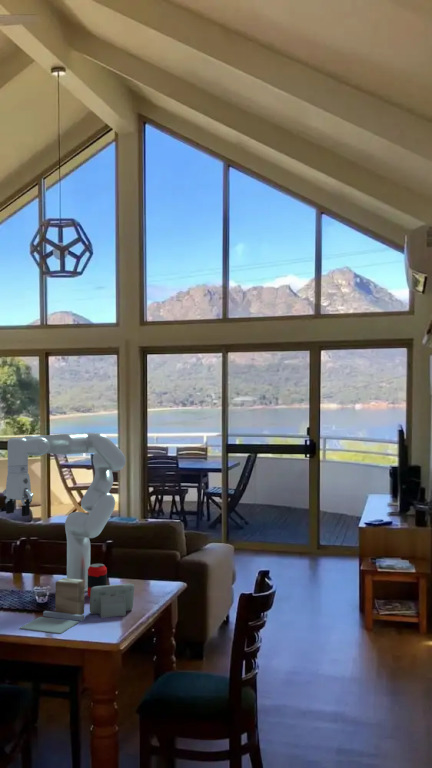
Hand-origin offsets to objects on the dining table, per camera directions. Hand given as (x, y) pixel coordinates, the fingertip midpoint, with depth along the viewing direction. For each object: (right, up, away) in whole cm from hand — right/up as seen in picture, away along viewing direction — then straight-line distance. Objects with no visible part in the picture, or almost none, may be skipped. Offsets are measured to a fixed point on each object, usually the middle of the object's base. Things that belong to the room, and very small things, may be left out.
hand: (17, 514), depth 250 cm
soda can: (+29, -35, +10) cm, 46 cm away
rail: (+22, -34, -17) cm, 44 cm away
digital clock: (+38, -34, -12) cm, 53 cm away
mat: (+19, -33, -26) cm, 46 cm away
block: (+23, -34, -13) cm, 43 cm away
